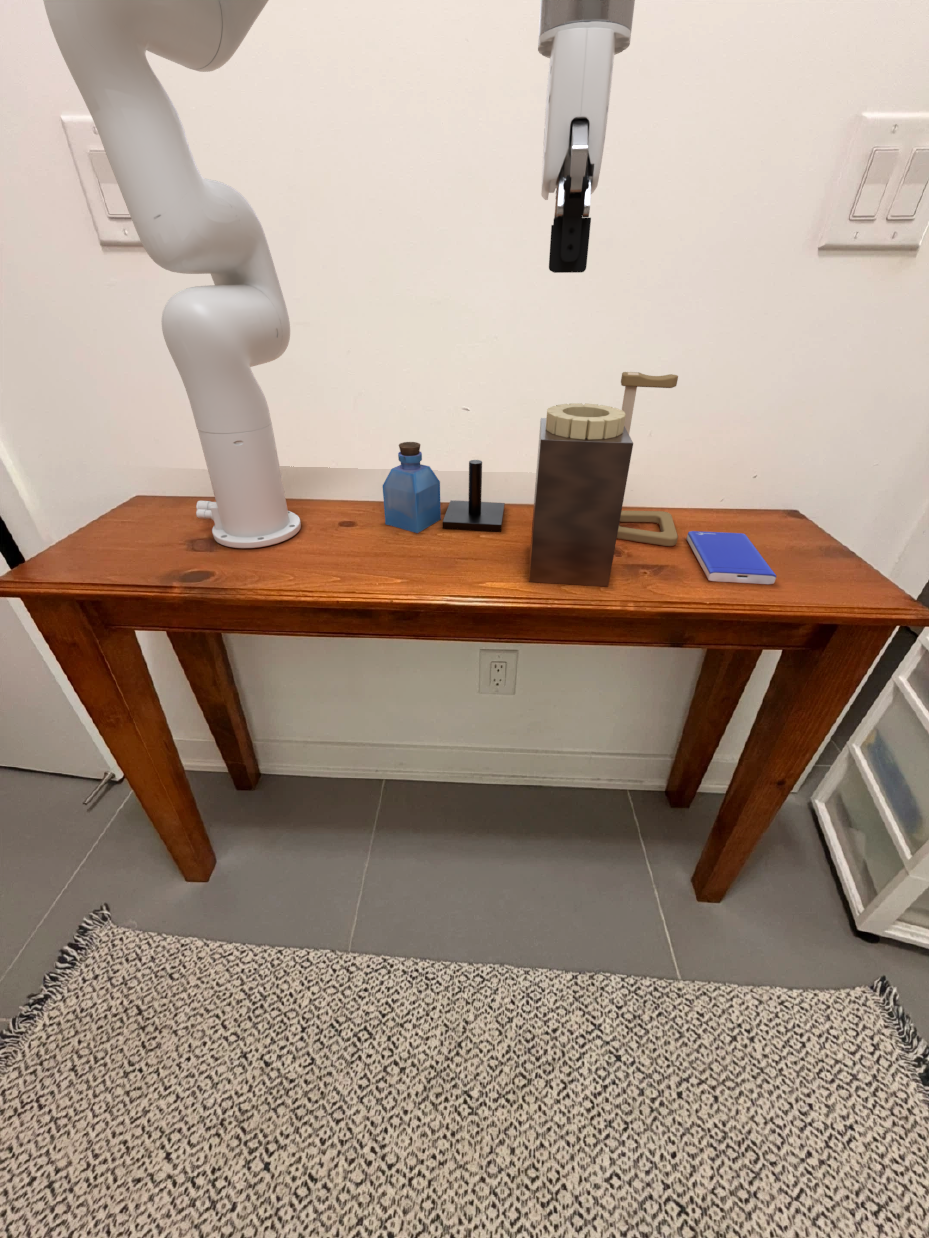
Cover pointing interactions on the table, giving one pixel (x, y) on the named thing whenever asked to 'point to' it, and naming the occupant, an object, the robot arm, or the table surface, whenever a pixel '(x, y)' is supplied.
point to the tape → (585, 421)
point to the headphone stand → (631, 383)
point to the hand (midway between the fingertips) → (565, 271)
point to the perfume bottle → (411, 492)
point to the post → (474, 507)
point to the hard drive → (730, 558)
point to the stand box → (577, 507)
